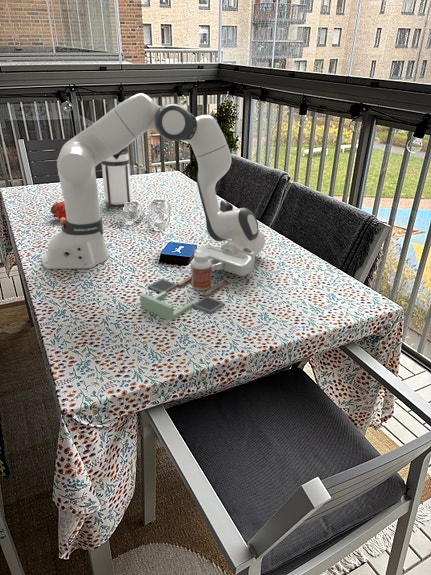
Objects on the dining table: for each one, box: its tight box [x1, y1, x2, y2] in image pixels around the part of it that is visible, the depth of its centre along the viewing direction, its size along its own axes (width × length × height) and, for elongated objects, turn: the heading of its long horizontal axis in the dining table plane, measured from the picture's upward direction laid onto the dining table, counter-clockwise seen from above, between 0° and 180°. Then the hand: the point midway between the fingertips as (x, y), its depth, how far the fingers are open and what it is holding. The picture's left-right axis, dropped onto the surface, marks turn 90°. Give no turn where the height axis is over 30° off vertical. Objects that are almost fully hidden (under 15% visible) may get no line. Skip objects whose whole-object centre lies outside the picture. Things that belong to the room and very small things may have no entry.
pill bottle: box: [190, 251, 212, 291], centre depth 138 cm, size 6×6×11 cm
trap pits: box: [147, 278, 225, 315], centre depth 135 cm, size 7×25×1 cm, turn 54°
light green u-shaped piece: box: [139, 291, 194, 321], centre depth 128 cm, size 10×11×4 cm
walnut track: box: [176, 276, 230, 298], centre depth 141 cm, size 12×11×1 cm
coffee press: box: [100, 146, 132, 209], centre depth 204 cm, size 17×16×30 cm
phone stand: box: [219, 200, 234, 212], centre depth 181 cm, size 9×6×12 cm, turn 112°
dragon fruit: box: [49, 200, 67, 221], centre depth 189 cm, size 8×8×12 cm
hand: (208, 268), depth 141 cm, fingers closed
